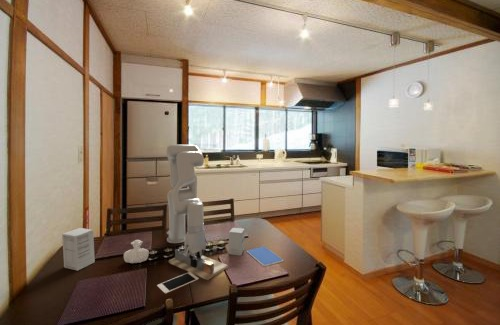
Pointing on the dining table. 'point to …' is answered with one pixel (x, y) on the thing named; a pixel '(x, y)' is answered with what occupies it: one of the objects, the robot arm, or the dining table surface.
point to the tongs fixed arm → (199, 263)
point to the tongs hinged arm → (204, 261)
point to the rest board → (217, 269)
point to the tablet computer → (264, 256)
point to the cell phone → (177, 282)
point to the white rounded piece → (136, 253)
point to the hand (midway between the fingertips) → (195, 264)
